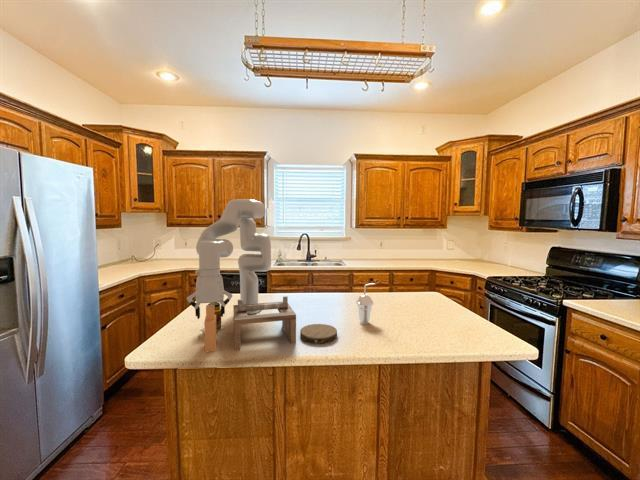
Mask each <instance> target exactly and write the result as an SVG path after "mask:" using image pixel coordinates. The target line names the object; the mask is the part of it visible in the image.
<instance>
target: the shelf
mask: <svg viewBox="0 0 640 480" xmlns="http://www.w3.org/2000/svg"><path fill="white" fill-rule="evenodd" d="M288 298H289V297H288V296H286V295H283V297H282V301H273V302H262V303H261V302H260V303H259V302H258V303H257V304H244V305H243V300H242V299H240V298H239V299H237V304H235V305H233V306H232V308H233V337H234V338H233V339H234V351H240V349H241V325H250V324H251V325H252V324H259V323H261V324H262V323H268V322H269V323H271V322H281V325H282V329H283V331H284V333H285V335H286V337H287V339H288V340H289V343H290V345H291V344H292V345H293V344H296V343H297V314H296V312H295V311H294V310H293V308H292V307H291V305H290V304H289V303H288V302H289V301H288ZM257 310H261V311H265V310H266V311H267V310H277V311H278V312H274V313H262V314H247V311H257Z"/></svg>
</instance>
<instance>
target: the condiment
mask: <svg viewBox="0 0 640 480" xmlns="http://www.w3.org/2000/svg"><path fill="white" fill-rule="evenodd" d="M207 305H215V315H216V331H217V333H218V332H220V331H221V330H223V329H224V328H225V326H222V317H221V304H220V302H214V303H207ZM200 331H204V332H205V328H202V329H200Z"/></svg>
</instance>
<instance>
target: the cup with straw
mask: <svg viewBox="0 0 640 480" xmlns="http://www.w3.org/2000/svg"><path fill="white" fill-rule="evenodd" d="M376 284H377V283H376V282H373V283H367V284H366V283H365V284H364V286H363V294H361V295H360V296H359V297H358V298H357V300H356V302H355V303H356V305H357V308H358V309H357V310H358V317H359V318H358V320H359V323H360V324H362V325H368V324H369V323H370V318H371V310H372V308H373V305H374V301H373V300H372V297H370V295H368V294H366V287H367V286H374V285H376Z"/></svg>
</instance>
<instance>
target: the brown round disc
mask: <svg viewBox="0 0 640 480" xmlns="http://www.w3.org/2000/svg"><path fill="white" fill-rule="evenodd" d="M299 333H300V334H299V335H300V336H299V337H300V339H301V341H303V342H305V343H307V344H312V345H326V344H330V343H333V342H335V340H337V339H338V330H337V328H335V326H333V325H330V324H327V323H326V324H325V323H313V324H308V325H305V326H302V327H301V328H300V332H299Z"/></svg>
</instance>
